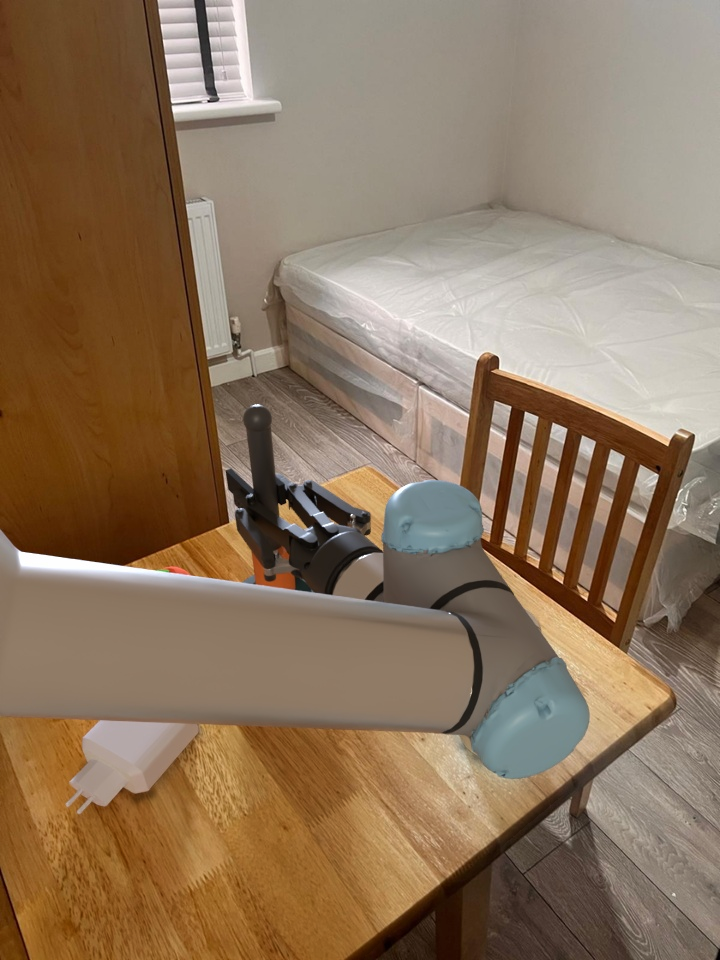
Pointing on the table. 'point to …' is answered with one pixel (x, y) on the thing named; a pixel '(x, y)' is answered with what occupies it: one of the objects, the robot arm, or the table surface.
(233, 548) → the table surface
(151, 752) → the charger
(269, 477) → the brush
